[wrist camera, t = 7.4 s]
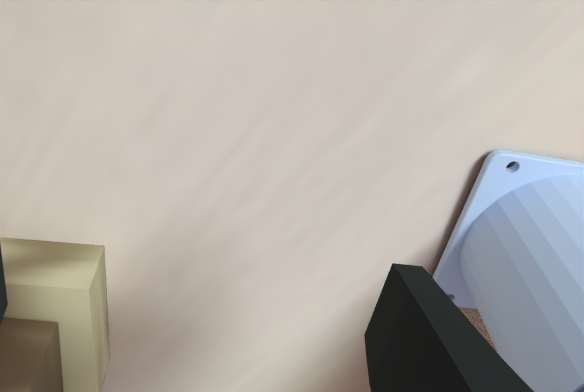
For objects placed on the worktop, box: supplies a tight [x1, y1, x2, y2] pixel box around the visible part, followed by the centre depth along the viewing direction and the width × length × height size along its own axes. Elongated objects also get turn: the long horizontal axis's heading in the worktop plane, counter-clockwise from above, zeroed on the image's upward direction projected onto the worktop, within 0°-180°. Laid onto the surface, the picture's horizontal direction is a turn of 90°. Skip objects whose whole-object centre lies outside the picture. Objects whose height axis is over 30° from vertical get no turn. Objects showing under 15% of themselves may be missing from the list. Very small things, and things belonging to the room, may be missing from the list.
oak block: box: [0, 238, 110, 392], centre depth 23 cm, size 7×7×3 cm
